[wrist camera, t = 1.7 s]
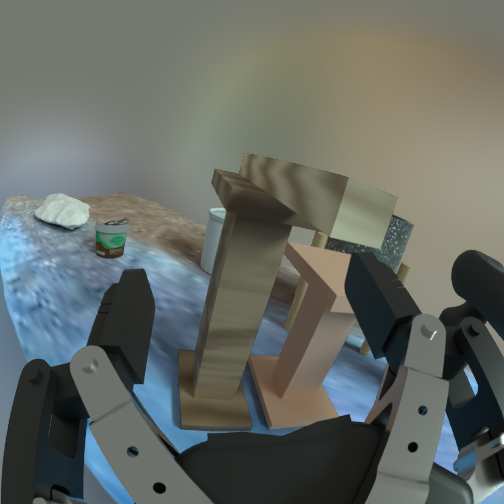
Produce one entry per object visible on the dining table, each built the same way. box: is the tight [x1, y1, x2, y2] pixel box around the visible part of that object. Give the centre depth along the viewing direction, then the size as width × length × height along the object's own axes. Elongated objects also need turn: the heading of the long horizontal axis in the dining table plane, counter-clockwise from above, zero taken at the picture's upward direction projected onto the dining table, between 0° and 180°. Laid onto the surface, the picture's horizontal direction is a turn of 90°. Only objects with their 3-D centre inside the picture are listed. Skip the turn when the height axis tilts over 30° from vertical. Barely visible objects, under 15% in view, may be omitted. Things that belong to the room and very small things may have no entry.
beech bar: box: [239, 153, 398, 249], centre depth 25 cm, size 26×3×3 cm, turn 12°
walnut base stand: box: [178, 169, 324, 431], centre depth 35 cm, size 16×10×32 cm, turn 12°
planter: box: [284, 214, 414, 355], centre depth 66 cm, size 22×22×32 cm
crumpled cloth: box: [35, 194, 91, 230], centre depth 84 cm, size 24×35×9 cm
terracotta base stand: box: [248, 242, 357, 429], centre depth 40 cm, size 16×12×24 cm
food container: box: [94, 217, 130, 258], centre depth 72 cm, size 12×6×10 cm, turn 159°
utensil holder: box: [200, 208, 226, 274], centre depth 83 cm, size 15×15×18 cm
